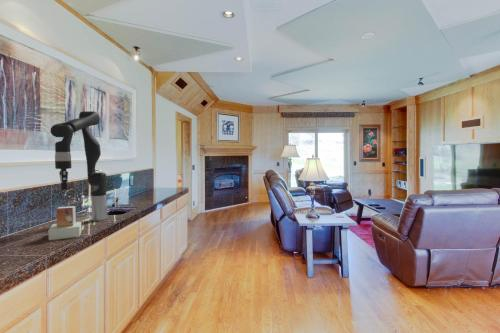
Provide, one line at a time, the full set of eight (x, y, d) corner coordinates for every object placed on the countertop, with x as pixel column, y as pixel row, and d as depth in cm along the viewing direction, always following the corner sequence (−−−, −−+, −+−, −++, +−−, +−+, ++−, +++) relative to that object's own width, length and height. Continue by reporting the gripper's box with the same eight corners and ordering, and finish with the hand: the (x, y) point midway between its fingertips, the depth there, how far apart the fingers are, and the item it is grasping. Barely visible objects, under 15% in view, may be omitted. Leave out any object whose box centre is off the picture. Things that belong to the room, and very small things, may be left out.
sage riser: (81, 231, 164) (81, 221, 164) (79, 237, 152) (79, 226, 152) (53, 234, 158) (52, 224, 157) (48, 241, 145) (48, 230, 145)
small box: (56, 227, 151) (55, 208, 150) (60, 224, 156) (59, 206, 156) (73, 226, 153) (72, 207, 153) (76, 223, 159) (75, 205, 158)
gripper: (72, 160, 150) (73, 189, 151) (70, 160, 161) (71, 187, 162) (55, 160, 145) (56, 190, 146) (54, 160, 157) (55, 188, 157)
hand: (64, 188), depth 154 cm, fingers open, 8 cm apart
